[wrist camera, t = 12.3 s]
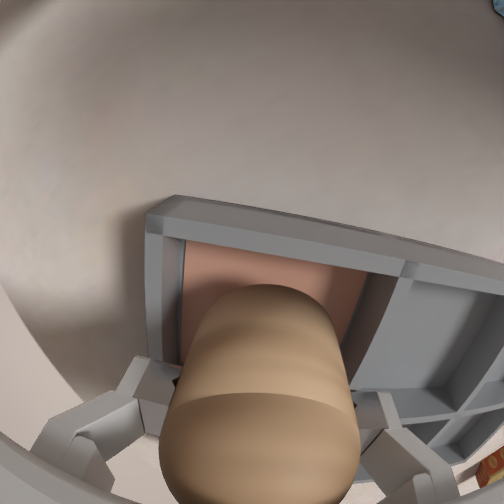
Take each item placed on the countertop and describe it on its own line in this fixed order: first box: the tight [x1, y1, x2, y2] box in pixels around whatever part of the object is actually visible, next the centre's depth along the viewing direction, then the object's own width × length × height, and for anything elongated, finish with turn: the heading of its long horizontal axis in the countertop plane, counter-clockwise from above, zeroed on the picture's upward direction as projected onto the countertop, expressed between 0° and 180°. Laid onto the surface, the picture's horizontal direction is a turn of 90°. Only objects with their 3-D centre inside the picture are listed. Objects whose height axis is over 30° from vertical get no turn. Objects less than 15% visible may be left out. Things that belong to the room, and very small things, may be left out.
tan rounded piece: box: [159, 284, 361, 504], centre depth 7 cm, size 5×5×7 cm
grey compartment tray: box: [145, 195, 504, 484], centre depth 13 cm, size 17×25×3 cm
